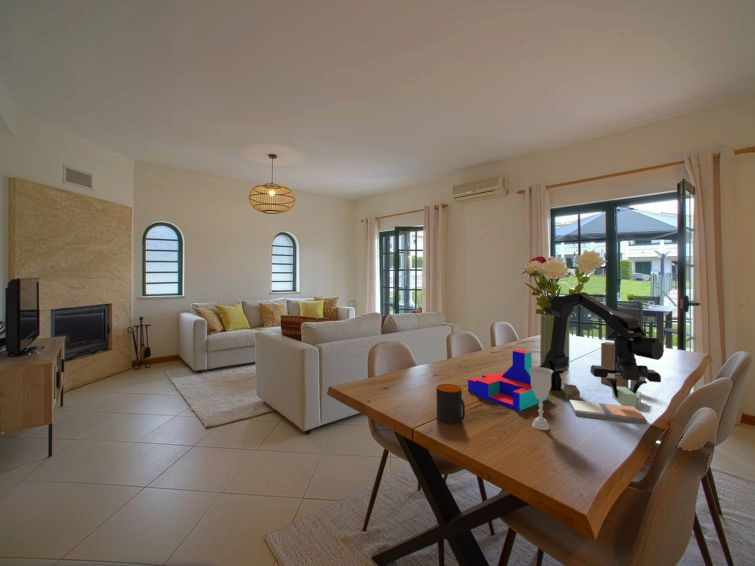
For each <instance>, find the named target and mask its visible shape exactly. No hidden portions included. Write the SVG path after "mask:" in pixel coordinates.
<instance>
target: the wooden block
mask: <svg viewBox="0 0 755 566" xmlns="http://www.w3.org/2000/svg"><path fill="white" fill-rule="evenodd" d="M600 346H601V349H600V366H604V367H605V368H606V369H613V370H614V368H613V365H614V356H613V354H614V342H609V341H606V342H601V343H600ZM615 378H616V379H617V383H616V385H617V386H620V387H626V388H628V389H629V380H624V379H622V376H618V375H615ZM600 383H601V384H604V385H607V386H610V383H609V382H608V380H606V379H605V378H603V377H600Z"/></svg>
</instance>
